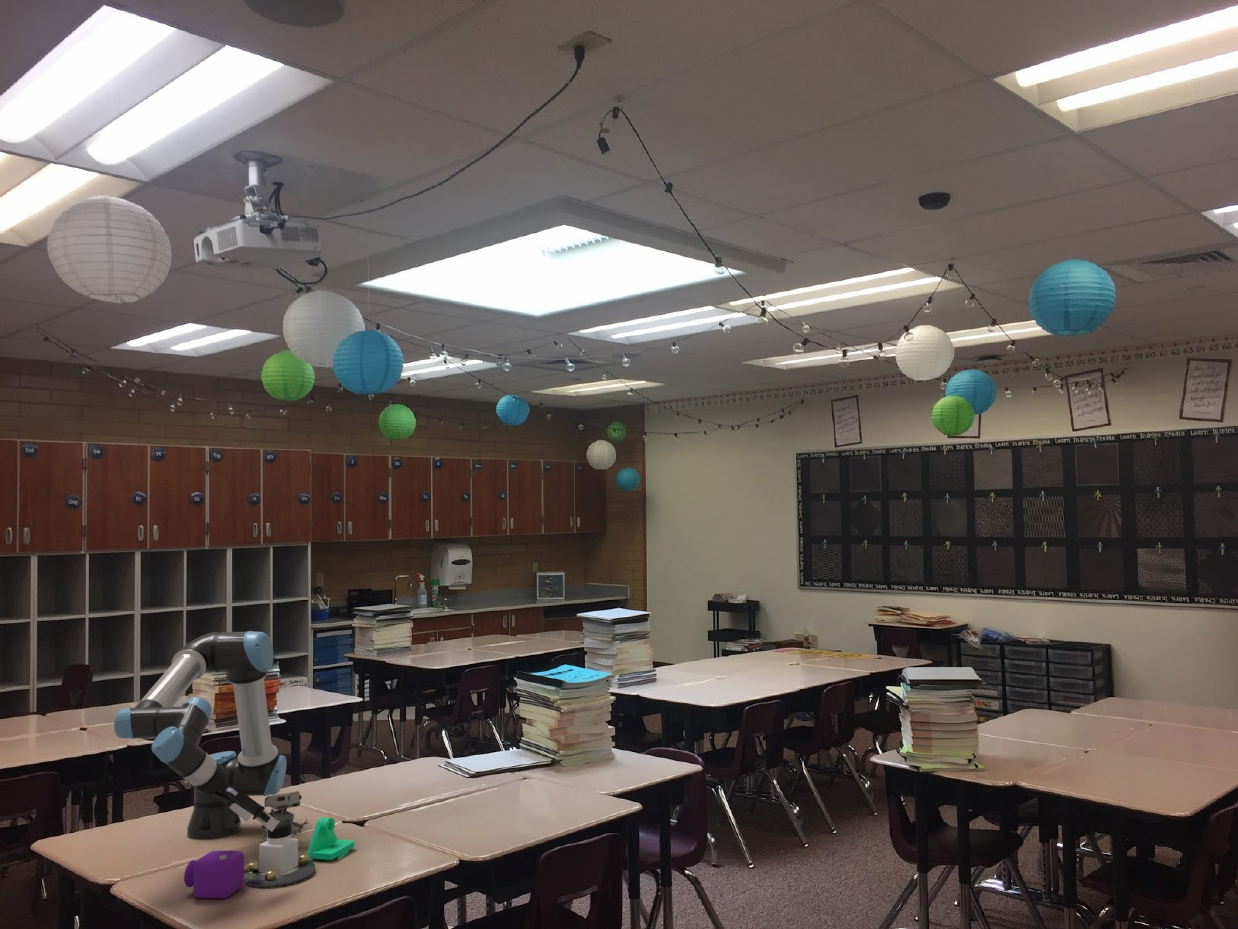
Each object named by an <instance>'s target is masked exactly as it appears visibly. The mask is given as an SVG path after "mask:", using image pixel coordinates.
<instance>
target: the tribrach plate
mask: <svg viewBox="0 0 1238 929" xmlns="http://www.w3.org/2000/svg"><path fill="white" fill-rule="evenodd" d="M315 872H316V865H315V863H314V862H313V861H312V860H310V858H309V854H308V853H300V854H298V866H296V867H294V868H293V869H291V870H289V871H287V872H285V873H283V874H276V870H274V869H271V870H267V871H265V873H264V872H259V861H258V860H257V861H256V860H251V861H248V862H246V869H244V882H243V885H245V884H246V885H245V886H247V887H250V886H252V887H251V888H254V887H258V888H257V889H272V888H271V887H277V888H279V887H278V886H284V887H287V886H286V885H289V886H292V885H291V884H293V885H295V884H294V883H297V884H298V883H302V882H305V881H306V880H305V879H307V880H308V878H309V877H310V878H312V877H313V876H314V875H315ZM313 874H314V875H313ZM312 875H313V876H312ZM311 876H312V877H311ZM310 878H309V879H310ZM304 880H305V881H304Z"/></svg>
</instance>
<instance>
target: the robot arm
mask: <svg viewBox="0 0 1238 929" xmlns="http://www.w3.org/2000/svg"><path fill="white" fill-rule="evenodd" d="M273 664H274V647H273V643H272V641H271V638H270V637H269V636H268V634H266V633H265V632H263V631H253V630H248V631H226V632H223V631H222V632H219V631H217V632H210V633H206V634H203V635H201V636H199V637H196V638H195V639H193V640H191V641H189V642H188V643H186V644H185V645H184V646H182V647H181V648H180V649H179V650H178V651H177V652H176V653H175V655H173V657H172V661H171V665H170V666H169V667H168V668H167V669H166V671H165V672H164V673H163V674H162V675H161V676H160V677H159V679H158V680H157V681H156V682H155V683H154V684H153V686H151V688H150V689H149V690H148V691H147V693H146V694H145V695H144V696H143V698H141V700H140V701H139V702H138V703H137V704H136V706H135V707H132V706H131V707H130V706H129V707H124V708H121V709H120V710H118V712H117V713H116V715H115V718H114V721H113V727H114V728H113V729H114V733H115V735H116V736H117V737H118V738H120V739H132V740H135V739H154V738H155V739H154V740H153V741H152V743H151V751H152V753H153V754H154V755H155V756H156V757H157V758H158V759H159V760H160V762H162V763H164V764H165V765H166V766H168V767H169V768H170V769H172V770H173V771H174V772H175V773H176V774H178V775H179V777H182V778H183V779H185V780H184V781H183V783H185V784H188V783H189V784H190V785H192V787H193V789H194V790H193V810H192V814H191V816H190V819H189V822H188V826H187V829H186V830H187V831H186V832H187V833H186V834H187V837H188V838H190V839H194V838H196V840H210V839H212V840H213V839H218V838H224V837H228V836H231V835H235V834H237V833H238V832H239V831H241V829H242V821H241V819H242V820H243V821H245V822H248V821H249V819H250V818H251V817H252V816H253V817H252V820H254V821H255V820H257V821H258V822H259V823H260V824H262V825H264V826H265V827H266V828H267V829H269V830H270V831H273V830H274V829H275V827H276V826H277V825H278V823H279V822H278V821H277V820H276V819H275V818H273V817H272V816H271V815H270V814H269V813H270V812H268V811H266V810H265V809H266V807H265V806H262V805H261V804H260V803H259V802H257V801H255V799H253V798H251V796H256V797H257V796H258V797H259V796H263V797H266V796H272V795H278V793H279V792H280V791H281V789H282V787H283V785H284V781H285V777H286V772H287V758H286V756H285V755H282V754H279V750H278V747H277V746H276V745H275V744H273V742H272V734H271V727H270V721H269V720H270V718H269V713H268V712H269V711H268V703H267V696H266V694H267V693H266V686H265V677H267V676H268V674H269V671H270V670H271V669H272V667H273ZM210 673H225V675H226V681H227V682H228V683H230V684H232V686H233V693H234V700H235V701H234V703H235V708H236V709H235V710H236V718H237V726H238V730H239V731H238V732H239V738H240V747H241V751H240V752H239V753H238V755H237V754H236V751H234V750H227V751H221V752H216V753H211V754H209V753H208V752H206V750H204V749H202V748H201V747H200V746H199V745H200V742H201V741H202V737H203V735H204V732H205V731H206V728H207V726H208V725H209V722H210V718H211V715H212V712H213V707H212V705H211V703H210V702H209V701H208V700H207V699H205V698H204V697H201V696H200V697H199V696H191V697H190V698H187V699H186V700H184V702H183V703H182V704H181V706H175V705H176V704H177V702H179V700H180V699H181V698H182V696H183V695H184V694H185V692H186V691H187V690H188V689H189V687H190V686H191V685H192V684H193V683H194V681H195V680H198V679H200V678H201V677H202V676H204V674H210Z"/></svg>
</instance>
